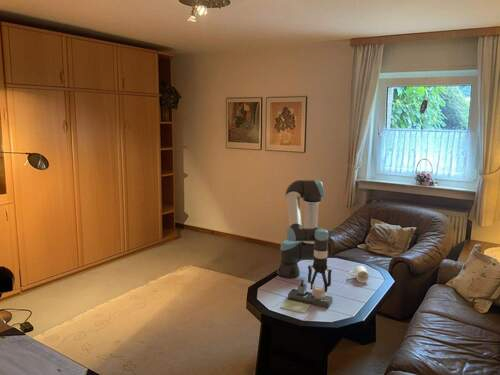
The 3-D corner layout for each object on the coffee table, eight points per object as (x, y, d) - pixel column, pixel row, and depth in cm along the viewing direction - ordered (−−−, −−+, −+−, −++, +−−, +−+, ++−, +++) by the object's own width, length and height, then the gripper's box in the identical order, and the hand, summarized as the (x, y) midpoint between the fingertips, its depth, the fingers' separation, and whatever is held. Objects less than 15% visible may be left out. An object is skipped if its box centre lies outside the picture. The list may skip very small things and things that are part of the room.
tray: (280, 308, 225) (280, 306, 225) (286, 301, 234) (286, 299, 234) (304, 314, 219) (304, 312, 219) (310, 306, 228) (310, 304, 228)
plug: (313, 302, 231) (314, 289, 229) (315, 299, 234) (316, 286, 233) (320, 304, 229) (321, 290, 228) (322, 301, 233) (323, 288, 231)
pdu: (287, 300, 236) (288, 280, 234) (292, 295, 243) (293, 276, 241) (328, 309, 225) (329, 288, 223) (332, 303, 232) (333, 283, 230)
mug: (365, 277, 272) (366, 265, 271) (368, 283, 263) (369, 271, 261) (347, 276, 274) (348, 264, 272) (349, 282, 264) (350, 270, 262)
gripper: (302, 256, 228) (301, 295, 232) (335, 261, 220) (333, 301, 224) (306, 252, 235) (305, 290, 238) (338, 257, 227) (336, 296, 231)
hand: (318, 295), depth 231 cm, fingers open, 5 cm apart
